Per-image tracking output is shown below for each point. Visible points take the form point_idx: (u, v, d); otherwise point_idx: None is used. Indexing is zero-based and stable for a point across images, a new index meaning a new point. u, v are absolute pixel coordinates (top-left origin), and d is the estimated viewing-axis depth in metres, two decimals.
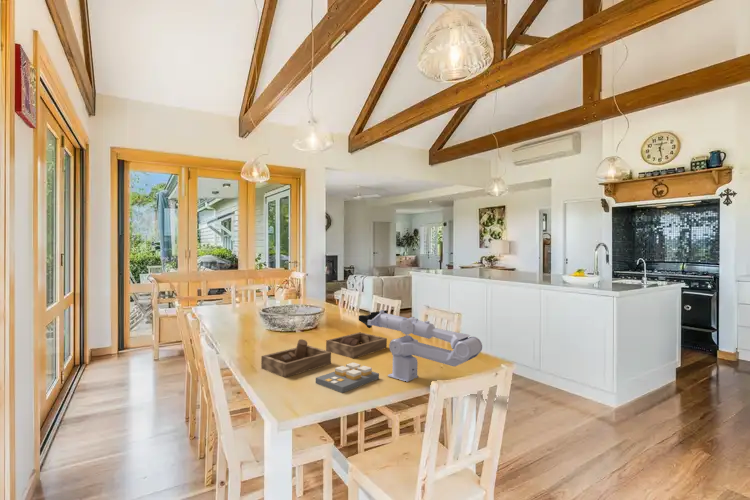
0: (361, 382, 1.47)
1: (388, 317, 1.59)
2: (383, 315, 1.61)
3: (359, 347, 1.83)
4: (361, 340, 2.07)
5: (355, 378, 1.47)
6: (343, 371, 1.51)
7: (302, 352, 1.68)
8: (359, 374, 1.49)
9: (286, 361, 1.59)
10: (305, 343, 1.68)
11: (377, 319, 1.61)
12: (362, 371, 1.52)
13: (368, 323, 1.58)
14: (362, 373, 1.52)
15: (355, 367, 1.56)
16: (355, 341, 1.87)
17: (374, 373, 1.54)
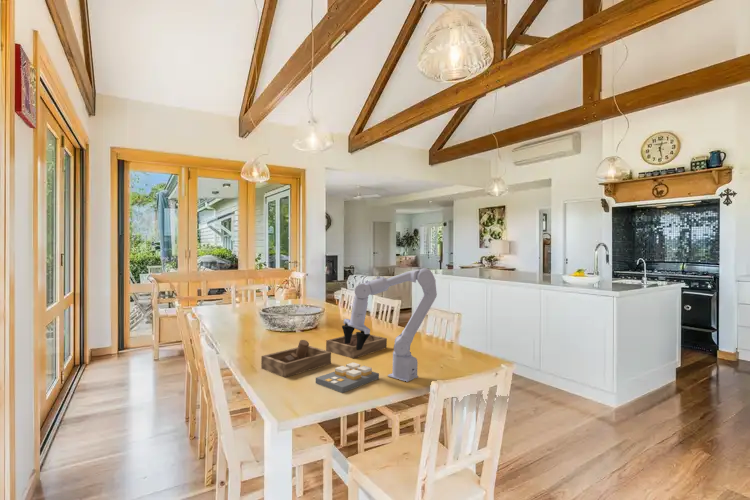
0: (361, 382, 1.47)
1: (357, 314, 1.56)
2: (355, 320, 1.56)
3: None
4: None
5: (355, 378, 1.47)
6: (343, 371, 1.51)
7: (304, 352, 1.67)
8: (359, 374, 1.49)
9: None
10: (307, 343, 1.68)
11: (360, 326, 1.56)
12: (362, 371, 1.52)
13: (368, 332, 1.53)
14: (362, 373, 1.52)
15: (355, 367, 1.56)
16: None
17: (374, 373, 1.54)
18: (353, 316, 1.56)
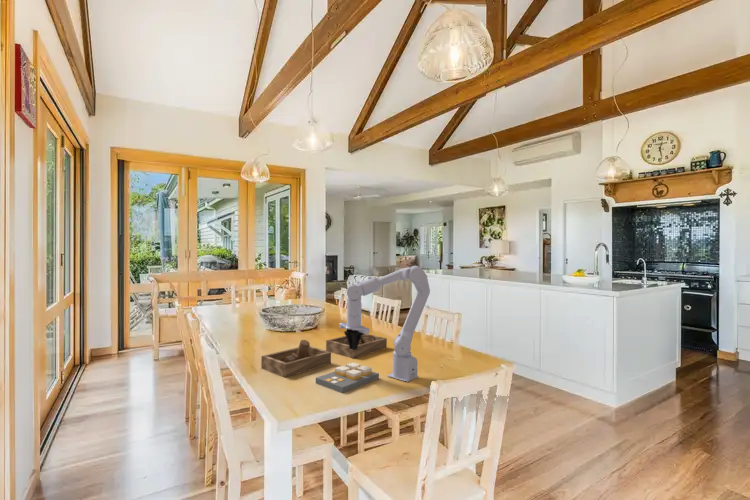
0: (361, 382, 1.47)
1: (354, 315, 1.54)
2: (352, 323, 1.55)
3: (359, 347, 1.83)
4: None
5: (355, 378, 1.47)
6: (343, 371, 1.51)
7: (304, 352, 1.67)
8: (359, 374, 1.49)
9: None
10: (307, 343, 1.67)
11: (358, 327, 1.55)
12: (362, 371, 1.52)
13: (368, 332, 1.53)
14: (362, 373, 1.52)
15: (355, 367, 1.56)
16: None
17: (374, 373, 1.54)
18: (349, 319, 1.55)
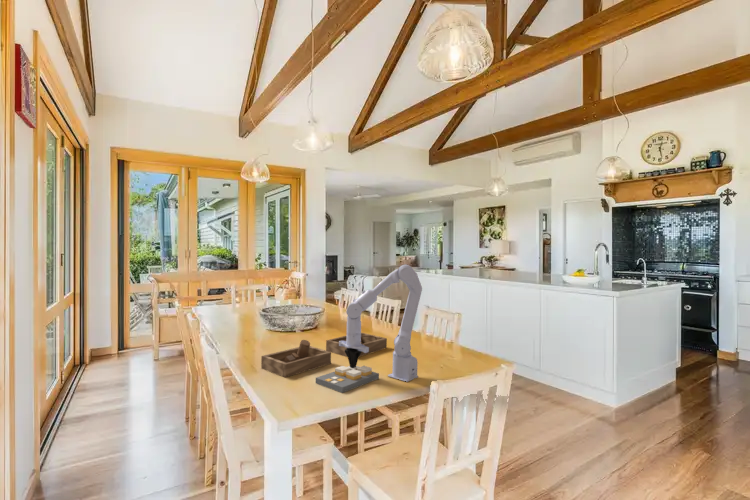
0: (361, 382, 1.47)
1: (353, 334, 1.55)
2: (352, 341, 1.55)
3: None
4: None
5: (355, 378, 1.47)
6: (343, 371, 1.51)
7: (305, 352, 1.67)
8: (359, 374, 1.49)
9: None
10: (308, 343, 1.67)
11: (357, 346, 1.55)
12: (362, 371, 1.52)
13: (367, 350, 1.53)
14: (362, 373, 1.52)
15: None
16: None
17: (374, 373, 1.54)
18: (349, 337, 1.55)
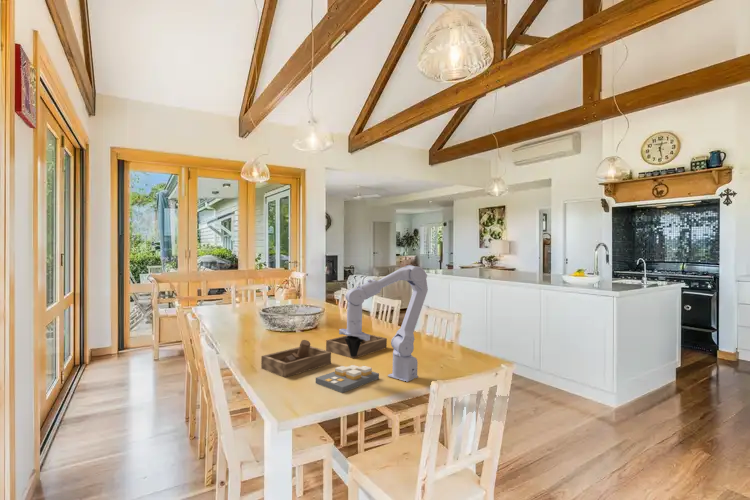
0: (361, 382, 1.47)
1: (354, 321, 1.48)
2: (352, 329, 1.48)
3: (359, 347, 1.83)
4: None
5: (355, 378, 1.47)
6: (343, 371, 1.51)
7: (305, 352, 1.67)
8: (359, 374, 1.49)
9: None
10: (308, 343, 1.67)
11: (358, 334, 1.49)
12: (362, 371, 1.52)
13: (368, 338, 1.47)
14: (362, 373, 1.52)
15: None
16: None
17: (374, 373, 1.54)
18: (349, 324, 1.49)
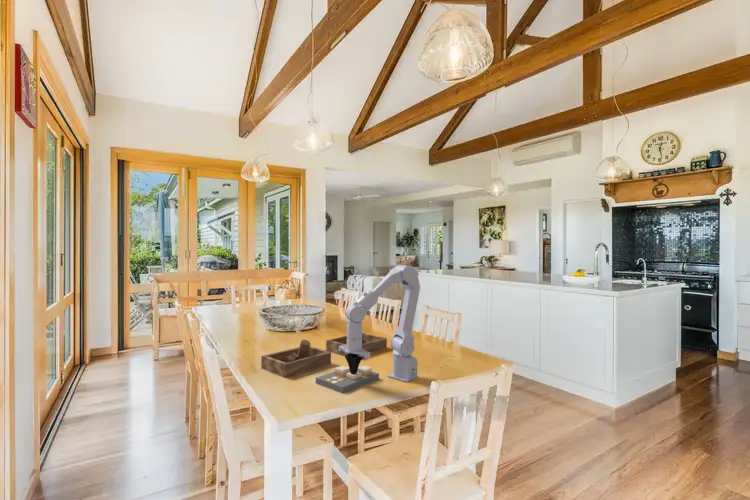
0: (361, 382, 1.47)
1: (354, 338, 1.46)
2: (352, 346, 1.46)
3: None
4: None
5: None
6: (343, 371, 1.51)
7: (305, 352, 1.67)
8: (359, 376, 1.49)
9: None
10: (308, 343, 1.67)
11: (358, 351, 1.47)
12: (362, 371, 1.52)
13: (369, 356, 1.45)
14: (362, 373, 1.52)
15: None
16: None
17: (374, 373, 1.54)
18: (350, 342, 1.47)
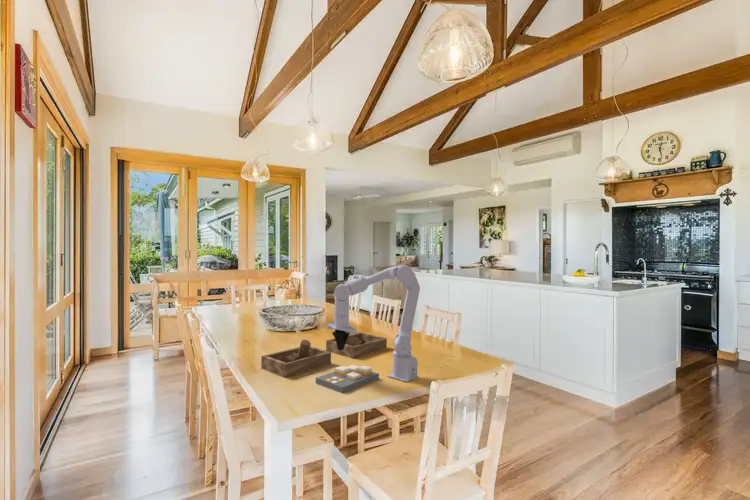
0: (361, 382, 1.47)
1: (341, 316, 1.53)
2: (339, 323, 1.53)
3: (359, 347, 1.83)
4: None
5: None
6: (343, 371, 1.51)
7: (305, 352, 1.67)
8: (359, 377, 1.49)
9: None
10: (308, 343, 1.67)
11: (345, 328, 1.54)
12: (362, 371, 1.52)
13: (355, 332, 1.52)
14: (362, 373, 1.52)
15: (355, 370, 1.56)
16: (358, 342, 1.86)
17: (374, 373, 1.54)
18: (337, 319, 1.54)
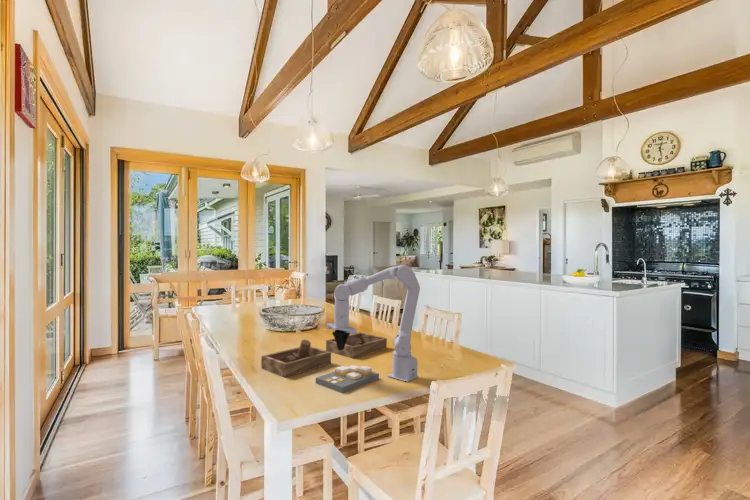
0: (361, 382, 1.47)
1: (341, 316, 1.53)
2: (339, 323, 1.53)
3: (359, 347, 1.83)
4: None
5: None
6: (343, 371, 1.51)
7: (305, 352, 1.67)
8: (359, 377, 1.49)
9: None
10: (308, 343, 1.68)
11: (345, 328, 1.54)
12: (362, 371, 1.52)
13: (355, 332, 1.52)
14: (362, 373, 1.52)
15: (355, 370, 1.56)
16: (358, 342, 1.86)
17: (374, 373, 1.54)
18: (337, 319, 1.54)
